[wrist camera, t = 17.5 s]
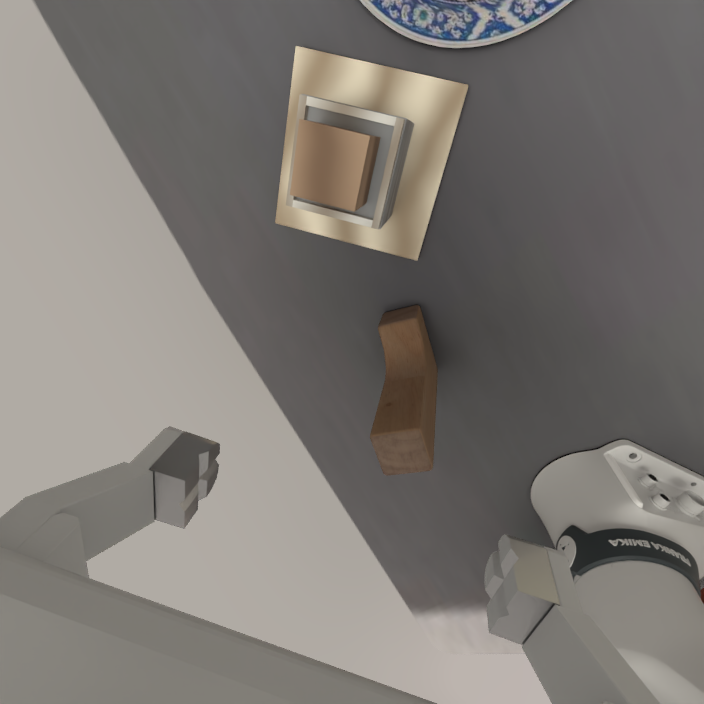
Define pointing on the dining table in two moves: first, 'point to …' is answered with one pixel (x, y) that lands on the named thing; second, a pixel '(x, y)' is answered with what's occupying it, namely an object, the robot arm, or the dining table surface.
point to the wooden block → (406, 395)
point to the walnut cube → (333, 165)
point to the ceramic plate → (462, 19)
